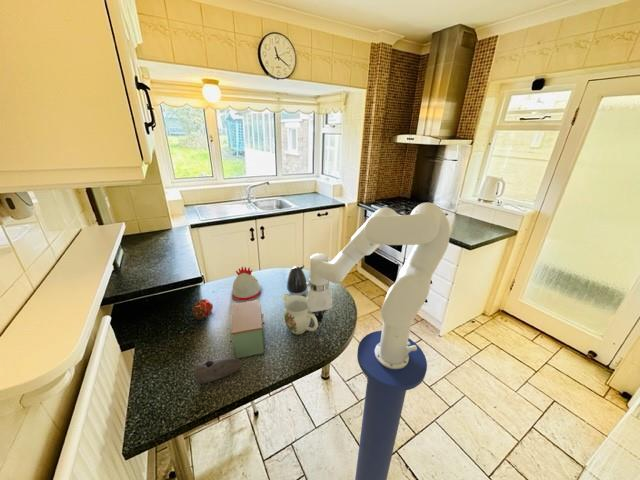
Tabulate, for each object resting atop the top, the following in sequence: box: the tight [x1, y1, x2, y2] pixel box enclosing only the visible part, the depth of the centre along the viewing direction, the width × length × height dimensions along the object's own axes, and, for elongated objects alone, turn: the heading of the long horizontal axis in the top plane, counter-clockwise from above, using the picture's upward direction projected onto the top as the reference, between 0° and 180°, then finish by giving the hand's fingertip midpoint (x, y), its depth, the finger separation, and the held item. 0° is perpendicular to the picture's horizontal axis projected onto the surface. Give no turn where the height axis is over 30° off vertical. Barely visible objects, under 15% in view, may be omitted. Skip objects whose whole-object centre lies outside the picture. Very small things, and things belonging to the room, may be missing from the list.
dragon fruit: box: [191, 298, 214, 321], centre depth 114 cm, size 8×8×12 cm
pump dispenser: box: [286, 264, 308, 296], centre depth 128 cm, size 10×10×15 cm
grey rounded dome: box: [231, 266, 262, 302], centre depth 128 cm, size 14×14×15 cm
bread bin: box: [230, 299, 266, 359], centre depth 100 cm, size 12×17×13 cm
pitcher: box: [281, 293, 319, 335], centre depth 105 cm, size 11×18×14 cm, turn 54°
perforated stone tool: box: [192, 357, 243, 385], centre depth 86 cm, size 15×5×7 cm, turn 110°
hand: (318, 320), depth 108 cm, fingers closed
